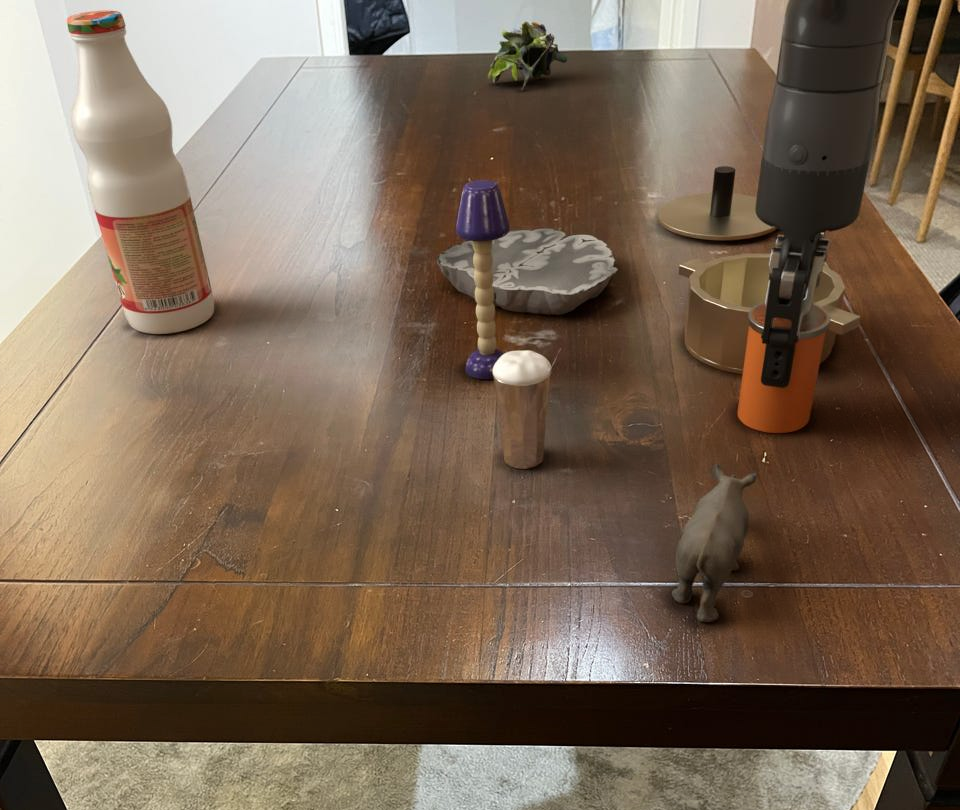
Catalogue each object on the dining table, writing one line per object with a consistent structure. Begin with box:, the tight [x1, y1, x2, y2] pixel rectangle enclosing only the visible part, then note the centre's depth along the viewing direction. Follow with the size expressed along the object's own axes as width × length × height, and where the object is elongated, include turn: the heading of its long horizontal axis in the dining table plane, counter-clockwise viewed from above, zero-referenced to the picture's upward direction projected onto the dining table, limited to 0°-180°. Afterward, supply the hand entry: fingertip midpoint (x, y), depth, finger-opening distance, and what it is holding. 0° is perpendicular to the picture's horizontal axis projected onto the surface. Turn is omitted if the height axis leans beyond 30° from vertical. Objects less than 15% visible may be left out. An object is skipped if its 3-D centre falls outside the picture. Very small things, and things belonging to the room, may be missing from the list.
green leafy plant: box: [487, 21, 568, 92], centre depth 172 cm, size 11×11×12 cm
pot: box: [678, 253, 861, 375], centre depth 95 cm, size 14×19×6 cm
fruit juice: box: [66, 9, 215, 335], centre depth 99 cm, size 9×9×28 cm
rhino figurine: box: [671, 463, 757, 623], centre depth 70 cm, size 4×14×6 cm, turn 158°
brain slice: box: [436, 227, 618, 316], centre depth 109 cm, size 20×17×3 cm
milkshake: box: [493, 348, 562, 470], centre depth 80 cm, size 4×5×10 cm
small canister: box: [736, 302, 831, 434], centre depth 84 cm, size 6×6×9 cm
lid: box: [657, 165, 778, 241], centre depth 119 cm, size 15×15×6 cm
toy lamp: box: [455, 179, 510, 380], centre depth 90 cm, size 5×5×17 cm
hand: (781, 364), depth 83 cm, fingers closed on small canister, 6 cm apart
